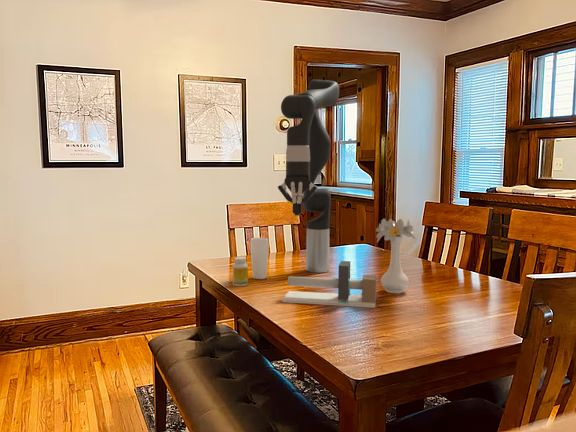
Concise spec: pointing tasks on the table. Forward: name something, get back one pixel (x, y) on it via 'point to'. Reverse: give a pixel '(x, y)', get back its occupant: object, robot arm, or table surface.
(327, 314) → the table surface
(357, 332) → the table surface
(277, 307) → the table surface
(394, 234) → the flower vase
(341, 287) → the collar
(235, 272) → the supplement bottle
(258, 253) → the drinking glass
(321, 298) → the pipe stand
